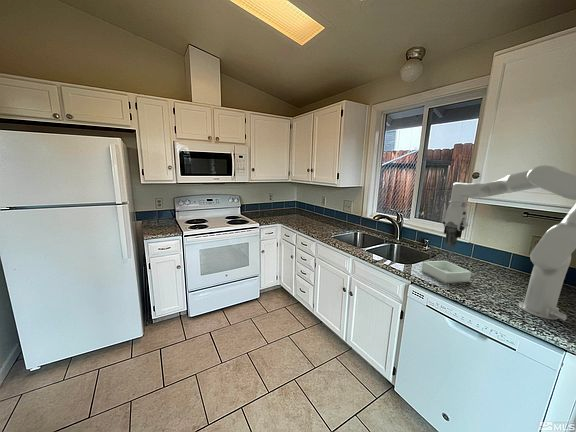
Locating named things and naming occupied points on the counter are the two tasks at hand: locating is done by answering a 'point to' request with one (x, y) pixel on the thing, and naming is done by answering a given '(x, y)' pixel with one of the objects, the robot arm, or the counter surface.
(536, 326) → the counter surface
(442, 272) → the bin
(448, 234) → the beverage cup
